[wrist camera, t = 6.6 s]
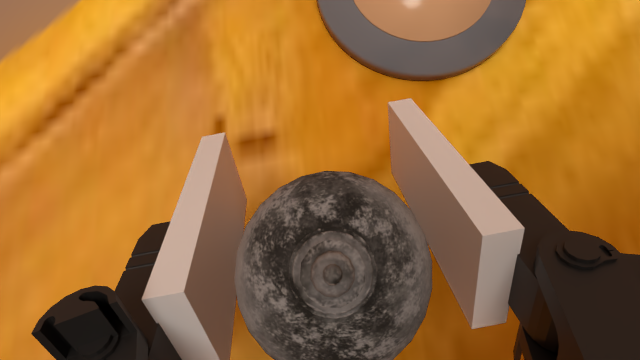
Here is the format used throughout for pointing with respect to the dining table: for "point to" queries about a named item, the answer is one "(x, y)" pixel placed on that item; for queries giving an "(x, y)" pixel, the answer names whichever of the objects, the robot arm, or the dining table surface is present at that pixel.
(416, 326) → the salt shaker
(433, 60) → the coaster
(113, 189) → the dining table surface
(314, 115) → the dining table surface
